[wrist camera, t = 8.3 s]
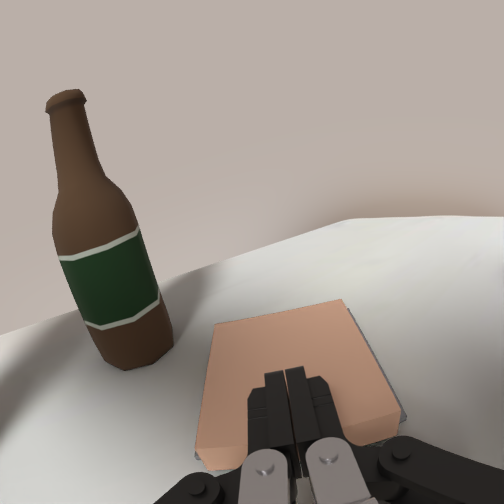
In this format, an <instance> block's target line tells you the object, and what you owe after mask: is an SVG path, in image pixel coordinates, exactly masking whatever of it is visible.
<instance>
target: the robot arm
mask: <svg viewBox="0 0 504 504" xmlns="http://www.w3.org/2000/svg"><path fill="white" fill-rule="evenodd" d="M285 375H286V381H287V385H286V381H285V376H284V371H283V370H279V371H274V372H269V373H264V379H265V387H259V388H253V389H252V391H251V393H250V395H249V397H248V399H247V410H248V412H247V418H248V420H247V421H248V454H247V457H246V459H245V460H244V462H243V464H242V465H241V466H240V467H238V468H237V469H235V470H234V471H231V472H229V473H226V474H223V475H220V476H217V477H214V476H213V475H211V474H208V473H204V472H196V473H191V474H189V475H187V476H185V477H184V478H182V479H181V480H180V481H179V482H178V483H177V484H176V485H175V486H173V487H172V488H171V489H170V490H169V491H168V492H167V493H165V494H164V495H163V496H162V497H161V498H160V499H158V500H157V501H156V502H155V503H154V504H297V485H296V479H298V478H302V475H301V469H300V462H301V467H302V471H303V476H304V477H308V476H309V479H310V484H311V489H312V495H313V499H314V502H315V504H504V470H502V469H498V468H495V467H492V466H489V465H486V464H482V463H479V462H476V461H473V460H471V459H468V458H465V457H462V456H459V455H456V454H454V453H451V452H448V451H445V450H443V449H440V448H438V447H435V446H432V445H430V444H427V443H425V442H422V441H420V440H417V439H415V438H413V437H409V436H398V437H394V438H392V439H390V440H388V441H387V442H385V443H384V444H383V445H382V447H362V446H358V445H355V444H353V443H351V442H350V441H348V440H347V439H346V437H345V436H344V433H343V430H342V427H341V423H340V420H339V417H338V414H337V410H336V407H335V404H334V401H333V397H332V395H331V391H330V388H329V385H328V383H327V382H326V381H325V380H324V379H323V378H322V377H321V376H315V377H311V378H306V374H305V370H304V366H299V367H294V368H289V369H285ZM287 387H288V390H287ZM288 393H289V395H288ZM298 453H299V455H298ZM299 458H300V462H299Z"/></svg>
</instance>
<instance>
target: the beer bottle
mask: <svg viewBox="0 0 504 504" xmlns="http://www.w3.org/2000/svg"><path fill="white" fill-rule="evenodd" d="M86 101H87V100H86V98H85V96H84V94H83V92H82V91H80V90H79V89H73V90H65V91H63V92H60V93H58V94H55V95H54V96H52V97H51V98H50V99H49V100H48V101H47V103H46V111H45V112H46V113H48V114H49V115H50V124H51V133H52V142H53V149H54V156H55V163H56V169H57V177H58V189H59V193H58V197H57V200H56V204H55V208H54V211H53V221H52V235H53V239H54V243H55V247H56V251H57V255H58V258H59V261H60V263H61V266H62V269H63V271H64V274H65V277H66V279H67V282H68V284H69V287H70V289H71V292H72V294H73V297H74V299H75V301H76V304H77V306H78V308H79V311H80V313H81V315H82V317H83V320H84V322H85V324H86V326H87V328H88V330H89V333H90V335H91V337H92V339H93V341H94V343H95V345H96V347H97V348H98V350H99V352H100V354H101V355H102V357H103V359H104V360H105V361H106V362H107V363H109V364H111V365H113V366H115V367H117V368H120V369H122V370H124V371H126V370H130V369H134V368H138V367H142V366H146V365H150V364H153V363H154V362H156V361H157V360H158V359H159V358H160V357H161V356H163V355H164V354H165V353H166V352H167V351H168V350H169V349H171V348H172V347H173V331H172V325H171V322H170V319H169V316H168V312H167V309H166V307H165V304H164V301H163V298H162V296H161V293H160V290H159V287H158V284H157V281H156V279H155V275H154V272H153V269H152V266H151V263H150V260H149V257H148V254H147V251H146V248H145V244H144V241H143V238H142V234H141V231H140V228H139V225H138V222H137V219H136V216H135V214H134V211H133V208H132V206H131V204H130V202H129V201H128V199H127V198H126V197H125V195H124V193H123V192H122V190H121V189H120V188H118V187H117V186H116V185H115V184H114V183H113V182H112V181H111V180H110V179H108V178H107V177H106V176H105V173H104V171H103V169H102V167H101V164H100V162H99V160H98V156H97V153H96V150H95V146H94V142H93V139H92V135H91V131H90V128H89V124H88V120H87V116H86V112H85V108H84V104H85V102H86Z"/></svg>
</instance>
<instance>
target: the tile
mask: <svg viewBox="0 0 504 504" xmlns="http://www.w3.org/2000/svg"><path fill="white" fill-rule="evenodd" d="M299 366H304V370H305V374H306V378H311V377H315V376H321V377H322V378H323V379H324V380H325V381H326V382H327V383H328V385H329V388H330V391H331V395H332V397H333V401H334V404H335V407H336V410H337V414H338V417H339V420H340V423H341V427H342V430H343V433H344V436H345V437H346V439H347V440H348V441H350V442H351V443H353V444H355V445H358V446H364V445H368V444H371V443H374V442H378V441H381V440H384V439H387V438H390V437H393V436H396V435H397V432H398V426H399V421H400V415H401V409H400V407H399V405H398V403H397V401H396V399H395V397H394V395H393V393H392V391H391V389H390V387H389V385H388V383H387V381H386V379H385V377H384V375H383V374H382V372H381V370H380V368H379V366H378V364H377V362H376V360H375V359H374V357H373V355H372V353H371V351H370V349H369V347H368V346H367V344H366V342H365V340H364V338H363V336H362V335H361V333H360V331H359V329H358V327H357V326H356V324H355V322H354V320H353V319H352V317H351V315H350V313H349V311H348V310H347V308H346V306H345V304H344V303H343V301H342V299H338V300H334V301H329V302H325V303H321V304H316V305H312V306H307V307H302V308H298V309H293V310H288V311H283V312H278V313H273V314H268V315H263V316H258V317H252V318H247V319H242V320H236V321H231V322H225V323H219V324H215V326H214V332H213V338H212V344H211V349H210V355H209V361H208V367H207V373H206V379H205V386H204V392H203V398H202V404H201V411H200V417H199V423H198V430H197V436H196V443H195V450H196V452H197V454H198V455H199V457H200V458H201V460H202V462H203V463H204V465H205V466H206V468H207V469H208V471H211V470H228V469H237V468H238V467H240V466H241V465H242V464H243V462H244V460H245V459H246V457H247V454H248V421H247V420H248V418H247V412H248V410H247V399H248V397H249V395H250V393H251V391H252V389H253V388H259V387H265V379H264V373H269V372H274V371H279V370H283V371H284V376H285V381H286V375H285V369H289V368H294V367H299ZM286 385H287V381H286ZM287 390H288V387H287ZM288 395H289V393H288ZM298 455H299V453H298ZM299 460H300V458H299Z"/></svg>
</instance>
